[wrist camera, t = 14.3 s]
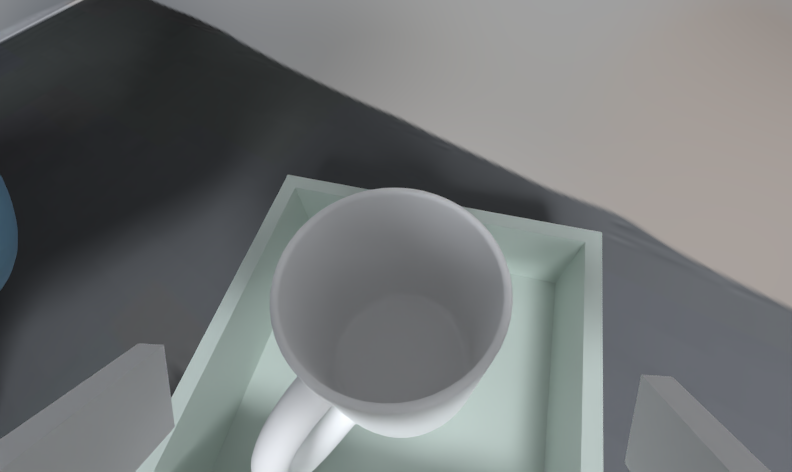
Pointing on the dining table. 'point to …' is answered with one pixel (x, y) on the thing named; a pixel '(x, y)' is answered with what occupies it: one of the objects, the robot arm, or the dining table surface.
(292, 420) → the mug
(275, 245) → the bin
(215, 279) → the dining table surface
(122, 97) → the dining table surface
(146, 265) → the dining table surface
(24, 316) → the dining table surface
